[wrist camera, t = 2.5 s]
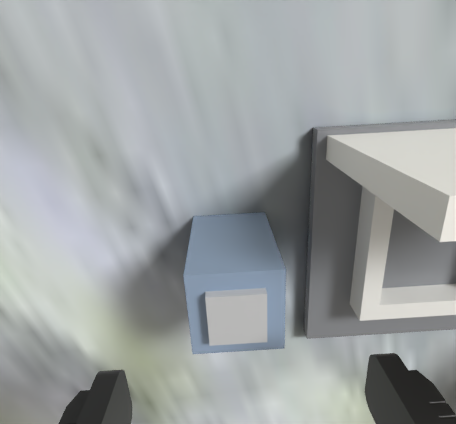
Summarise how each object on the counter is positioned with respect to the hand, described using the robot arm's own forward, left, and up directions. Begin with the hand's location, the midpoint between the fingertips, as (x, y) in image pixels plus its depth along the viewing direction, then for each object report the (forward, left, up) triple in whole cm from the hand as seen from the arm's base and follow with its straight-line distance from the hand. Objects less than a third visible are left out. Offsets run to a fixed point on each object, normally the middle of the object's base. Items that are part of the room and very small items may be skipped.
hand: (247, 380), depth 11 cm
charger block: (0, 0, -9) cm, 9 cm away
